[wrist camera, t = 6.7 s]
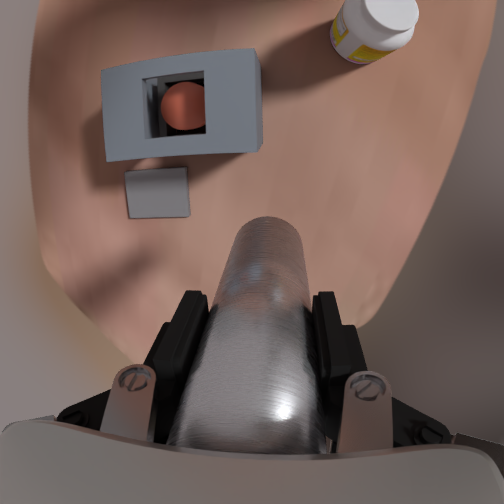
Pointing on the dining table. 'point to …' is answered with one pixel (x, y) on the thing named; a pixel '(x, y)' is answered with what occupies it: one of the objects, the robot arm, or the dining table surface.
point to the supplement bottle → (372, 28)
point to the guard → (154, 88)
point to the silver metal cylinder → (256, 354)
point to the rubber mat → (158, 192)
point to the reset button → (184, 106)
